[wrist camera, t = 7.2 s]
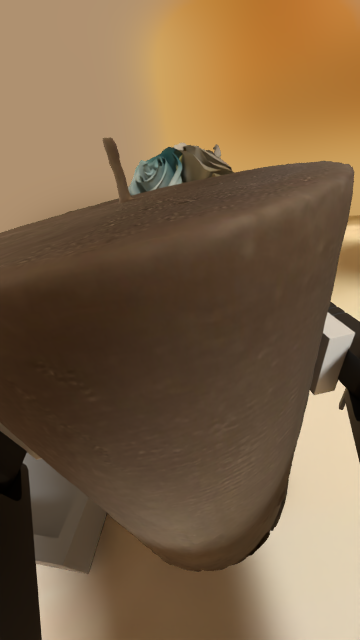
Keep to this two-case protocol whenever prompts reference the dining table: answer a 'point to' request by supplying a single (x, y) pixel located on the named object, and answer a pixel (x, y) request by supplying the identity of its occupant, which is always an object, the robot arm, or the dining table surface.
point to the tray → (62, 519)
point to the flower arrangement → (178, 168)
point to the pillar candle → (175, 348)
